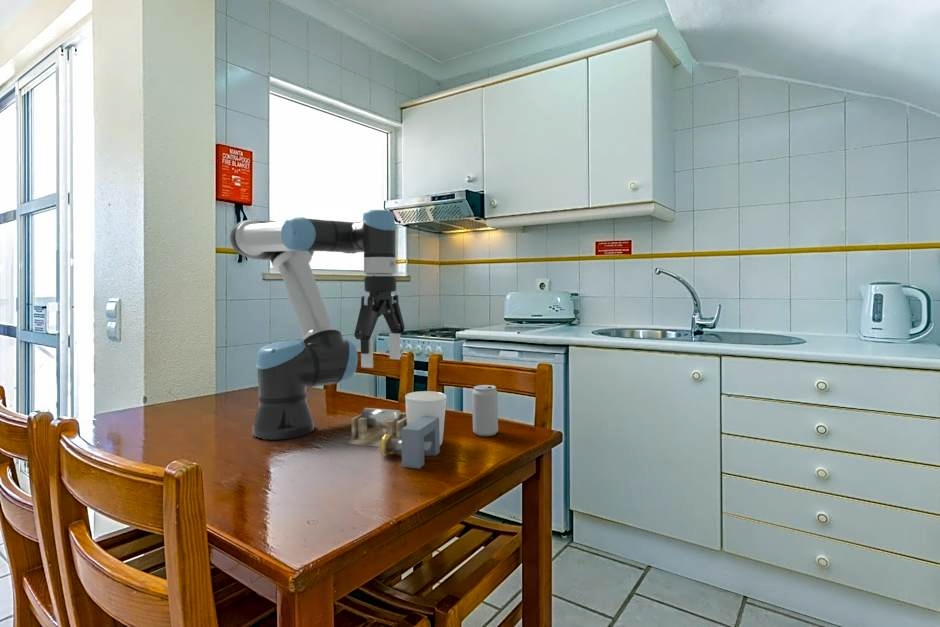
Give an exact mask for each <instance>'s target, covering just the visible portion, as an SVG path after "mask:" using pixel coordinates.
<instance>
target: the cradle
mask: <svg viewBox="0 0 940 627" xmlns="http://www.w3.org/2000/svg"><path fill="white" fill-rule="evenodd" d="M401 414H402V419H401V420H399V421H398V422H396V429H395V420H388V421H386V428H385V429H384V428H378V427H367V418H361V413H360V414H358V415H356V416H354V417H351V420H350V422H351V438H350V439H349V440H348V443H349V444H350V445H359V446H366V447H368V446H369V447H377V448H380V441H381V438H382V436H383V435H384V434H391V435H392V436H393V438H398V439H401V429H402V428H403V427H405V426H407V425H406V411H405V412H401Z"/></svg>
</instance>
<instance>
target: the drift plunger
mask: <svg viewBox="0 0 940 627" xmlns="http://www.w3.org/2000/svg"><path fill="white" fill-rule="evenodd" d="M379 451H380V454H381V455H382V456H390V455H391V454H392V453H399V454H402V443H401V439H398V438H393V436H392V435H391V434H384V435H383V436H382V438H381V441H380V447H379ZM432 452H433V443H432V442H430V441H424V457H425V456H427V457H430V456H432V455H431V454H432Z"/></svg>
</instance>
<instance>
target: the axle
mask: <svg viewBox="0 0 940 627" xmlns="http://www.w3.org/2000/svg"><path fill="white" fill-rule="evenodd" d="M401 413H402V411H401V410H399V409H388V408H387V409H386V408H372V407H364V408H363V409H362V411H361V413H360V414H361V418H367V427H378V428H383V429H386V421H388V420H395V429H396V422H398V421H399V420H401V419H402V414H401Z"/></svg>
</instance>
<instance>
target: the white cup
mask: <svg viewBox="0 0 940 627" xmlns="http://www.w3.org/2000/svg"><path fill="white" fill-rule="evenodd" d="M404 399H405V413H406V425H409V424H410V423H412V422H414V421H415V420H417V419H419V418H420V417H422V416H428V417H439V441H440V446H441V445H442V444H443V440H444V429H445V418H446V406H447V405H446V404H447V395H446V394H445V393H443V392H438V391H429V390H424V391H422V390H420V391H413V392H409V393H406V394H405V396H404Z"/></svg>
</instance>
